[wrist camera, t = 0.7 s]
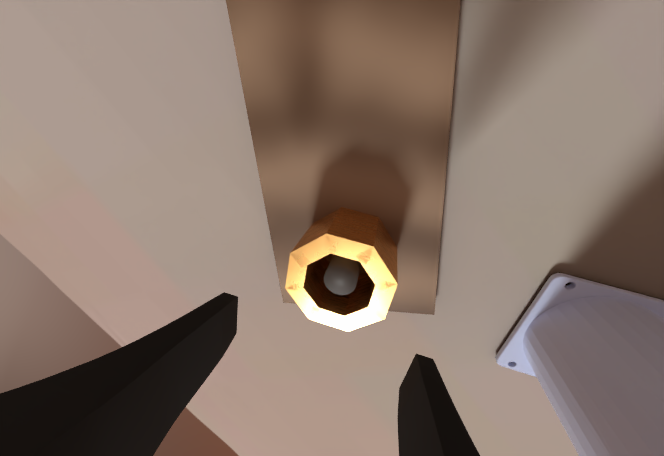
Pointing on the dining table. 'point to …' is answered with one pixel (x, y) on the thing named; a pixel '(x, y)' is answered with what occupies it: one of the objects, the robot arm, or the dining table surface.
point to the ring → (354, 243)
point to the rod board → (352, 124)
